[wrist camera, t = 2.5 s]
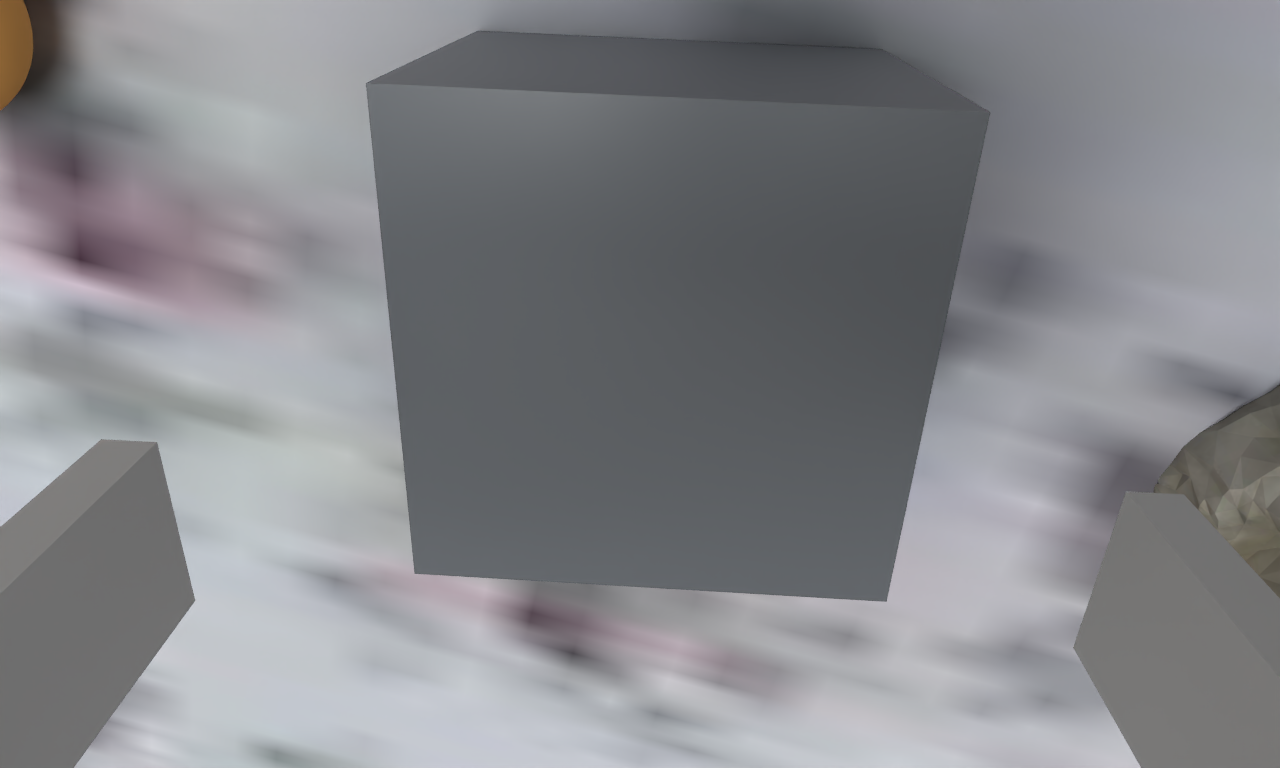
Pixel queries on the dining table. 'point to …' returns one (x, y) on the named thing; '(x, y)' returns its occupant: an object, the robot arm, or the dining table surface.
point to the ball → (14, 48)
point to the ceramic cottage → (1237, 482)
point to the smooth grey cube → (666, 305)
